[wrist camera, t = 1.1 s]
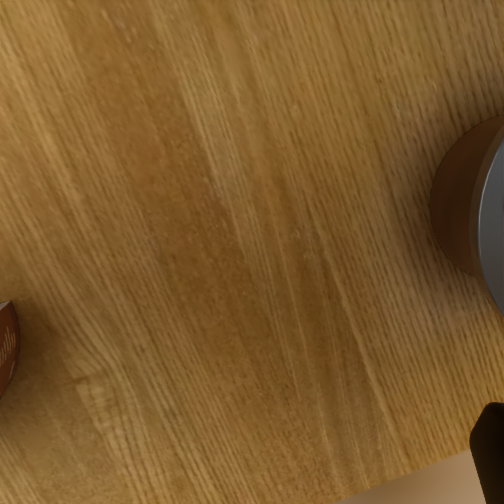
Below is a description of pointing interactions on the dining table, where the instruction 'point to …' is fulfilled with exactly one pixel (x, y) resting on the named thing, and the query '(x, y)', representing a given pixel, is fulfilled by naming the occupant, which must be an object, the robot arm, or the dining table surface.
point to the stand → (460, 191)
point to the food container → (8, 344)
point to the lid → (489, 225)
